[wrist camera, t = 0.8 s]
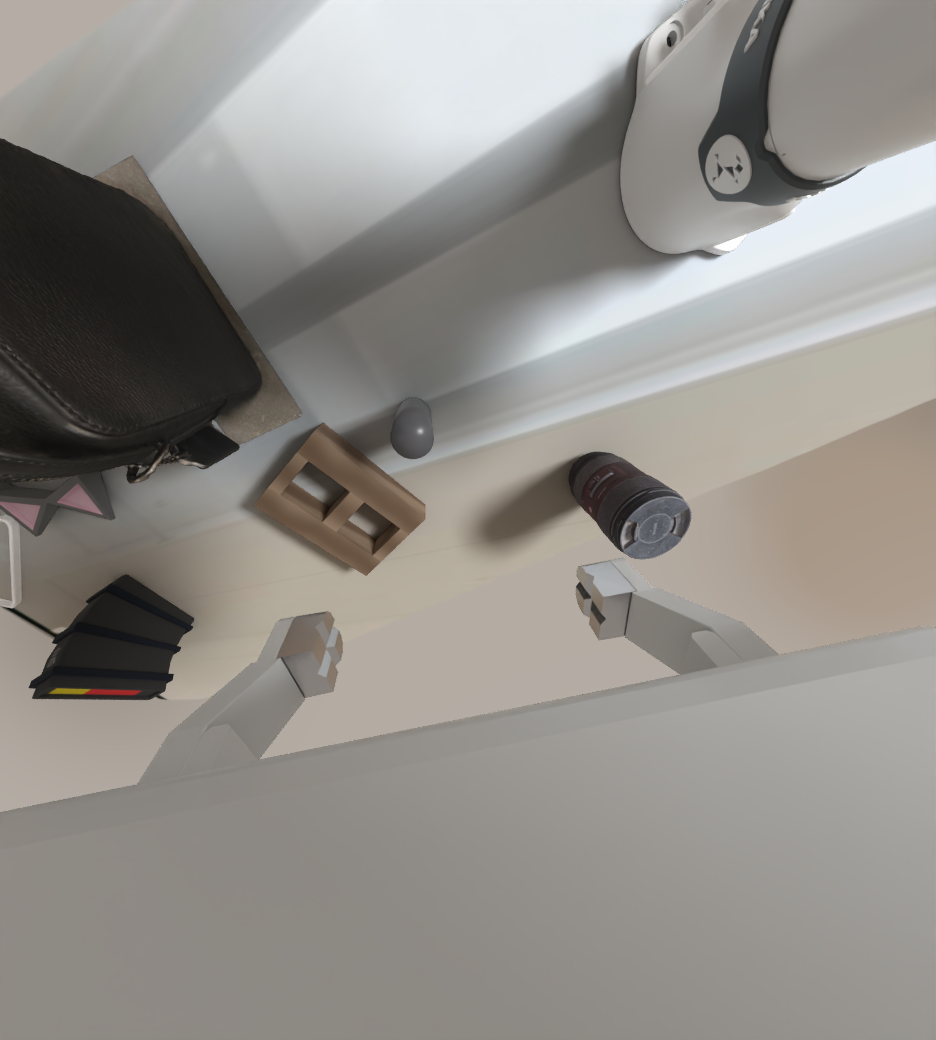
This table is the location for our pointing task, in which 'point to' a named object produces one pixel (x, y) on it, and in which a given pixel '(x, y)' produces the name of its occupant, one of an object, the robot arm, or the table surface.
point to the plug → (412, 429)
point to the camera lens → (629, 505)
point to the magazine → (115, 647)
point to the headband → (55, 501)
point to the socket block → (342, 502)
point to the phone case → (13, 562)
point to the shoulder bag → (115, 332)
